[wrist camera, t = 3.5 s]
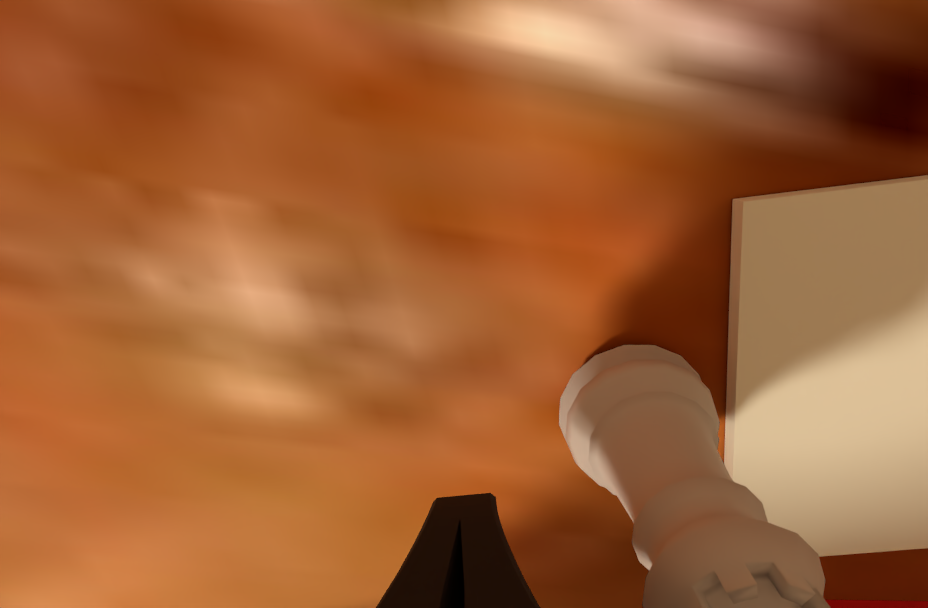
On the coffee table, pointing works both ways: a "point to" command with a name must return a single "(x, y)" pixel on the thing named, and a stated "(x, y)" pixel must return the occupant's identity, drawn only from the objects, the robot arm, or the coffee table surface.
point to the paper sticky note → (832, 363)
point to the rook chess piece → (681, 487)
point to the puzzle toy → (876, 604)
